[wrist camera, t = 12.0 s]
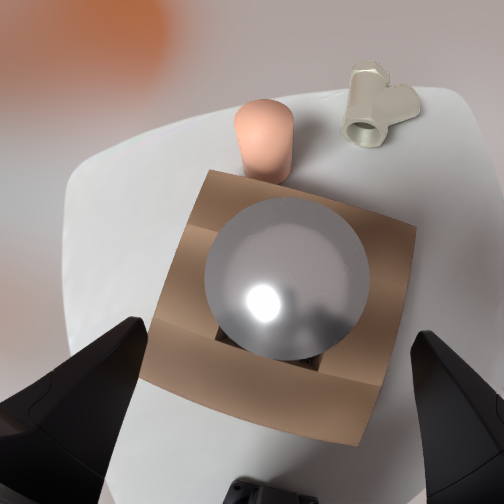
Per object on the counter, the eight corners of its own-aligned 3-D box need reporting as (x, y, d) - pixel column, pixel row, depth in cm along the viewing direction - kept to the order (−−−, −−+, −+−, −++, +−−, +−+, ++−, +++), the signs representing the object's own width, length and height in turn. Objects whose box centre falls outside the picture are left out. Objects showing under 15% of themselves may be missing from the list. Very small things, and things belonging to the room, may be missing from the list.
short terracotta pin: (284, 191, 21) (285, 147, 16) (237, 180, 21) (225, 135, 16) (296, 152, 22) (299, 105, 16) (252, 142, 22) (244, 95, 17)
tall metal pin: (313, 332, 18) (384, 338, 6) (258, 343, 18) (219, 372, 6) (303, 279, 19) (345, 186, 7) (249, 289, 19) (195, 214, 7)
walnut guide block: (343, 425, 16) (357, 446, 12) (161, 368, 18) (135, 375, 14) (393, 245, 19) (416, 226, 15) (221, 197, 21) (209, 169, 17)
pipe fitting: (410, 106, 23) (348, 82, 24) (425, 81, 19) (357, 54, 20) (410, 168, 21) (336, 140, 22) (430, 144, 17) (348, 111, 18)
